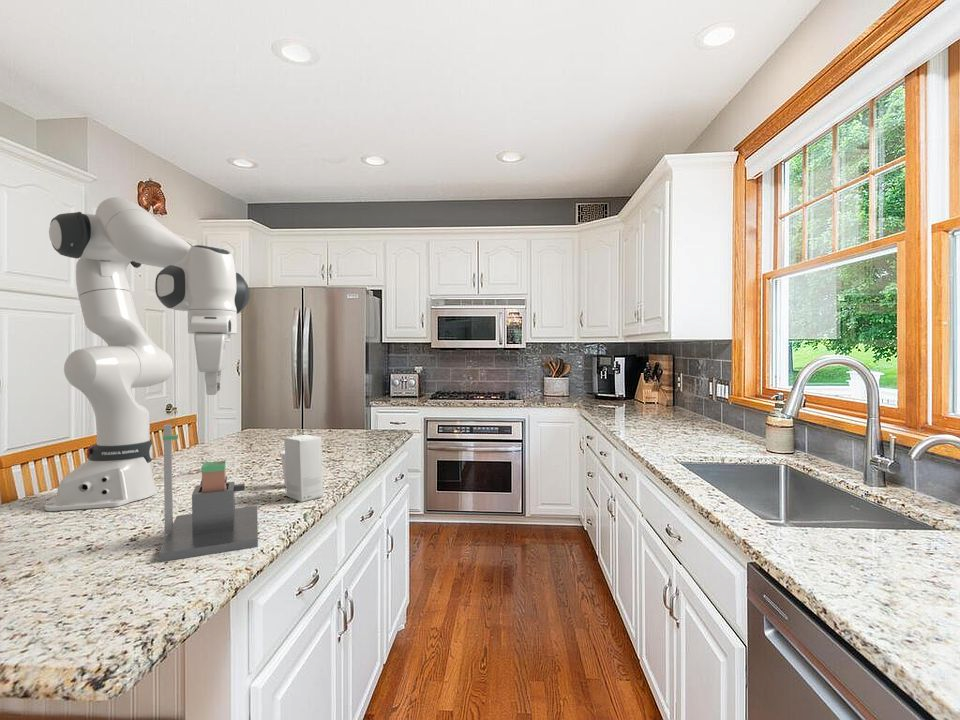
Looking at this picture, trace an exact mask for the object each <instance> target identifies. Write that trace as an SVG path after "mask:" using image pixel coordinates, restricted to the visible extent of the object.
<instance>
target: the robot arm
mask: <svg viewBox="0 0 960 720" xmlns="http://www.w3.org/2000/svg"><path fill="white" fill-rule="evenodd" d="M49 223H50V224H49V227H48V228H49V229H48V236H49V240H50V242H51V245H52V247H53V250H55V251H56V253H58V254H59V255H61V256H64V257H67V258H72V259H77V262H76V264H75V281H76V283H75V284H76V291H77V295H78V299H79V300H78V301H79V305H80V308H81V312H82V317H83V321H84V325H85V327H86V328H87V329H88V330H89V331H90V332H91V333H93V334H95V335H97V336H98V337H99V338H101V339H102V340H103V342H105V344H106V345H97V346H90V347H85V348H80V349H75V350H73V351H72V352H71V353H70V354H69V355H68V356H67V358H66V360H65V362H64V367H63V372H64V376H65V378H66V380H67V381H68V383H69V384H70V385H71V386H73V387H74V388H75V389H77V390H79V391H80V392H81V393H83V395H84V396H85V397H86V399H88V401H89V403H90V405H91V407H92V409H93V412H94V416H95V427H96V442H95V443H93V444H91V445H89V447H88V448H87V449H86V450H85V451H86V453H85V455H86V458H87V459H88V460H86V461H84V463H81V465H79V466H78V467H76V468H75V469H74V470H72V471H70V472H69V473H68V474H66V476H64V477H63V478H62V480H61V481H60V482H59V484H58V487H57V492H56V496H54V497H52V498H51V499H49V500H48V501H47V502H46V503H45V504H44V510H45V511H46V512H58V511H71V510H86V509H98V508H99V509H101V508H103V509H104V508H115V507H121V506H124V505H126V504H129V503H132V502H136V501H139V500H144V499H147V498H149V497H153V496H154V495H157V493H158V492H159V490H158V487H157V485H156V482H155V478H154V473H153V468H152V465H153V464H152V460H153V458H154V457H153V455H154V453H153V448H154V447H153V446H154V445H153V440H152V439H151V435H150V434H151V432H150V431H151V430H150V429H151V425H150V423H151V422H150V420H151V419H150V417H151V415H150V412H149V409H148V408H146V406H144V405H142V404H140V403H138V402H137V401H136V399H135V397H134V396H133V393H132V389H136V388H146V387H151V386H155V385H159V384H161V383H164V382H166V381H167V380H169V378H171V376H172V373H173V370H174V363H173V360H172V357H171V355H170V354H169V353H168V352H167V351H165V350H164V349H162V348H161V347H160V346H158V345H157V344H156V343H155V342H154V341H153V339H151V337H150V336H149V334H148V333H147V331H146V330H145V329H144V327H143V326H142V323H141V321H140V318H139V316H138V312H137V309H136V308H137V307H136V305H135V302H134V298H133V292H132V289H131V285H130V283H129V280H128V277H127V269H128V266H129V265H130V264H131V266H132V267H133V268H135V269H138V268H140V267H141V266H142V265H145V266H152V267H157V268H162V269H161V270H160V271H159V272H158V273H157V274H156V277H155V283H154V289H155V290H154V291H155V295H156V297H157V299H158V300H159V302H160V303H161V304H162V305H163V306H164V307H166V308H167V309H171V310H174V311H180V312H181V311H182V312H187V333H188V334H192V335H193V340H194V341H193V342H194V348H195V357H196V363H197V369H198V371H199V372H200V373H204V382H205V386H206V387H205V390H206V391H205V392H206V395H208V396H214V395H217V393H218V392H219V391H221V379H222V370H224V369H226V367H227V363H226V362H227V361H226V360H227V356H226V355H227V353H226V351H227V350H226V343H230V342H231V335H237V334H238V314H240V313H241V312H242V311H243V310H244V309H245V308H246V307H247V305H248V304H249V301H250V298H251V291H250V287H249V286H248V283H247V281H246V280H245V278H244V277H243V276H242V275H241V274H240V273H239V272H236V271H237V270H236V265H235V260H234V256H233V255H232V253H231V252H230V251H228V250H226V249H224V248H217V247H214V246H207V245H203V244H201V245H199V244H195V245H192V244H191V243H189V242H188V241H186V240H185V239H183V238H182V237H180V236H179V235H177V234H175V233H174V232H173V231H171V230H170V229H169V228H167V227H166V226H164V224H162V223H161V222H159V221H158V220H157V219H156V218H155V217H154V216H153V215H152V214H151V213H150V212H149V211H148V210H146V209H145V208H144V207H142V206H141V205H139V204H137V203H136V202H134V201H133V200H130V199H127V198H124V197H121V196H120V197H119V196H117V197H109V198H106V199H105V200H103V201H101V202H100V203H99V204H98V206H97V207H96V210H95V214H89V213H83V212H81V211H76V212H66V213H60V214H57V215H56V216H55V217H53V218H52V219H51V221H50V222H49Z"/></svg>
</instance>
